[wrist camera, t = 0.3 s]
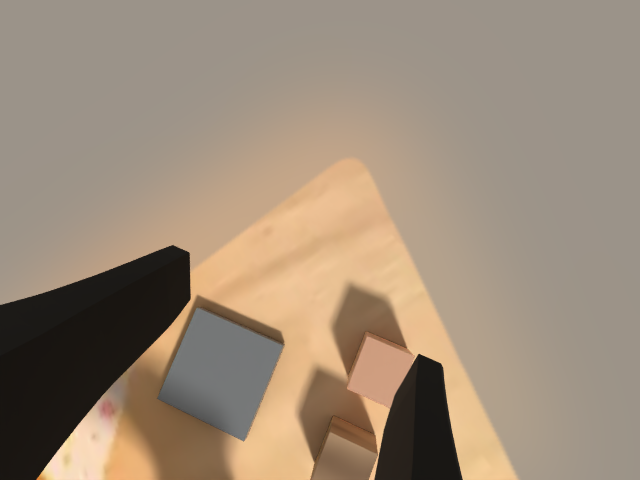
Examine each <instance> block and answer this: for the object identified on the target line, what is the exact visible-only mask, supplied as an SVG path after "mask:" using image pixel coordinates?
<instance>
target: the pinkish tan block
mask: <svg viewBox="0 0 640 480" xmlns="http://www.w3.org/2000/svg"><path fill="white" fill-rule="evenodd" d="M414 357H415V356H414V355H413V354H412V353H411V352H410V351H409V350H408V349H407V348H405V347H402V346H400V345H398V344H395V343H393V342H390V341H388V340H386V339H383V338H381V337H379V336H376V335H374V334H372V333H369V332H367V331H366V332H365V335H364V337H363V340H362V343H361V345H360V348H359V350H358V353H357V356H356V358H355V361H354V363H353V366H352V368H351V371H350V374H349V376H348V382H347V389H348V390H350V391H353V392H355V393H357V394H359V395H362V396H364V397H366V398H368V399H370V400H373V401H375V402H377V403H379V404H382V405H384V406H386V407H388V408H391V405H392V402H393V399H394V395H395V393H396V392H397V390H398V388H399V386H400V385H401V383H402V381H403V380H404V378H405V376H406V375H407V373H408V371H409V369H410V367H411V365H412V362H413V359H414Z"/></svg>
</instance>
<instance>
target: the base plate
mask: <svg viewBox="0 0 640 480" xmlns="http://www.w3.org/2000/svg"><path fill="white" fill-rule="evenodd" d="M284 345H285V344H283V343H281V342H278V341H276V340H274V339H272V338H269V337H267V336H265V335H263V334H260V333H258V332H256V331H254V330H251V329H249V328H247V327H245V326H242V325H240V324H238V323H236V322H233V321H231V320H229V319H227V318H224V317H222V316H220V315H217V314H215V313H213V312H211V311H208V310H206V309H204V308H202V307H197V308H196V311H195V313H194V315H193V317H192V320H191V322H190V324H189V327H188V329H187V331H186V333H185V336H184V338H183V340H182V343H181V345H180V347H179V350H178V352H177V354H176V356H175V359H174V361H173V363H172V366H171V368H170V370H169V373H168V375H167V377H166V379H165V382H164V384H163V386H162V389H161V391H160V393H159V396H158V398H157V399H159V400H161V401H163V402H165V403H167V404H169V405H171V406H173V407H175V408H177V409H179V410H181V411H183V412H185V413H187V414H189V415H191V416H193V417H195V418H197V419H199V420H201V421H204V422H206V423H208V424H210V425H212V426H214V427H216V428H218V429H220V430H222V431H224V432H226V433H228V434H230V435H232V436H234V437H236V438H238V439H240V440H242V441H245V439H246V438H247V436H248V433H249V431H250V429H251V426H252V424H253V421H254V419H255V416H256V414H257V411H258V409H259V407H260V404H261V402H262V399H263V397H264V394H265V392H266V389H267V387H268V384H269V382H270V380H271V377H272V375H273V372H274V370H275V367H276V365H277V362H278V360H279V357H280V355H281V353H282V350H283V348H284Z"/></svg>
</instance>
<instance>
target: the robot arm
mask: <svg viewBox="0 0 640 480" xmlns="http://www.w3.org/2000/svg"><path fill="white" fill-rule="evenodd" d="M190 299H191V294H190V253H189V252H187V251H185V250H183V249H180V248H178V247H176V246H174V245H172V246H169V247H166V248H164V249H161V250H159V251H156V252H153V253H151V254H148V255H146V256H143V257H141V258H138V259H136V260H133V261H131V262H128V263H126V264H123V265H121V266H118V267H116V268H113V269H110V270H108V271H105V272H103V273H100V274H98V275H95V276H92V277H89V278H86V279H83V280H80V281H78V282H75V283H72V284H69V285H66V286H63V287H60V288H57V289H54V290H51V291H48V292H45V293H42V294H38V295H36V296H32V297H28V298H25V299H21V300H17V301H14V302H10V303H6V304H3V305H0V480H36V479H37V478H38V477H39V475H40V474H41V472H42V471H43V470H44V468H45V467H46V466H47V464H48V463H49V462H50V460H51V459H52V458H53V456H54V455H55V454H56V452H57V451H58V450H59V449H60V447H61V446H62V445H63V443H64V442H65V441H66V440H67V438H68V437H69V436H70V435H71V433H72V432H73V431H74V429H75V428H76V427H77V426H78V424H79V423H80V422H81V421H82V419H83V418H84V417H85V416H86V415H87V413H88V412H89V411H90V410H91V409H92V407H93V406H94V405H95V404H96V402H97V401H98V400H99V399H100V398H101V396H102V395H103V394H104V393H105V392H106V391H107V390H108V389H109V388H110V387H111V385H112V384H113V383H114V382H115V381H116V380H117V379H118V378H119V377H120V376H121V375H122V374H123V373H124V372H125V371H126V370H127V369H128V368H129V367H130V366H131V365H132V364H133V363H134V362H135V361H136V360H137V359H138V358H139V357H140V356H141V355H142V354H143V353H144V352H145V351H146V350H147V349H148V348H149V347H150V346H151V345H152V344H153V343H154V342H155V341H156V340H157V339H158V338H159V337H160V336H161V335H162V334H163V333H164V332H165V331H166V330H167V329H168V327H169V326H170V325H171V324H172V323H173V322H174V320H175V319H176V318H177V316H178V315H179V314H180V313H181V311H182V310H183V309H184V307H185V306H186V305H187V303H188V302H189V301H190ZM375 480H463V479H462V475H461V471H460V466H459V462H458V458H457V453H456V448H455V443H454V438H453V434H452V428H451V423H450V417H449V411H448V405H447V398H446V390H445V382H444V372H443V367H442V365H441V363H439V362H436V361H434V360H432V359H429V358H427V357H425V356H423V355H420V354H418V356H417V358H416V359H415V361H414V363H413V364H412V366H411V368H410V369H409V371H408V373H407V375H406V376H405V378H404V380H403V381H402V383H401V385H400V386H399V388H398V390H397V392H396V393H395V395H394V399H393V402H392V405H391V408H390V412H389V415H388V418H387V422H386V425H385V428H384V433H383V438H382V443H381V448H380V453H379V458H378V464H377V469H376V474H375Z"/></svg>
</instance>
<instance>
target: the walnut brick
mask: <svg viewBox="0 0 640 480" xmlns="http://www.w3.org/2000/svg"><path fill="white" fill-rule="evenodd" d="M377 456H378V452H377V444H376V436H375V435H374V434H372V433H370V432H368V431H365V430H363V429H361V428H359V427H357V426H355V425H353V424H350V423H348V422H346V421H344V420H342V419H340V418H337V417H335V416H333V417H332V420H331V423H330V425H329V428H328V430H327V433H326V435H325V438H324V441H323V443H322V446H321V448H320V451H319V453H318V456H317V459H316V461H315V464H314V468H313V472H312V476H311V479H310V480H369V477H370V474H371V472H372V469H373V466H374V464H375V461H376V458H377Z"/></svg>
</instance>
